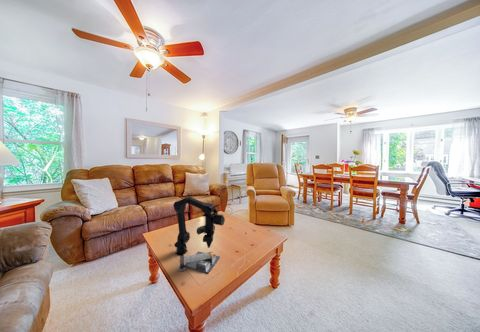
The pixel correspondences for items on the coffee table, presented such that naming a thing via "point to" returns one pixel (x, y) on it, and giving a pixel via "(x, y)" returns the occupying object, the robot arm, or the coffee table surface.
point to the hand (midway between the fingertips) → (209, 244)
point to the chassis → (203, 264)
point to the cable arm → (199, 257)
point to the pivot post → (182, 264)
